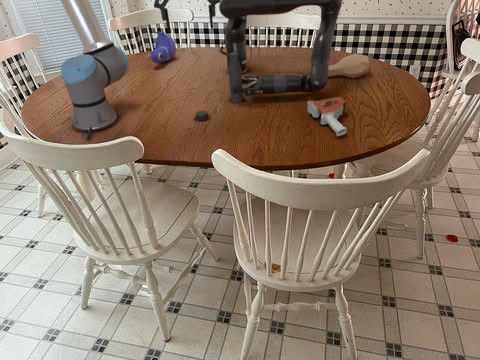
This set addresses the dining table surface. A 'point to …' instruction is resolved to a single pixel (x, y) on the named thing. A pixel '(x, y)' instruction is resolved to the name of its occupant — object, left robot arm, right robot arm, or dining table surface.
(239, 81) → the bottle
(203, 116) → the cap
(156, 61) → the toy
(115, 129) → the dining table surface
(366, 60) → the squash
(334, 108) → the tape dispenser
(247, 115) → the dining table surface
